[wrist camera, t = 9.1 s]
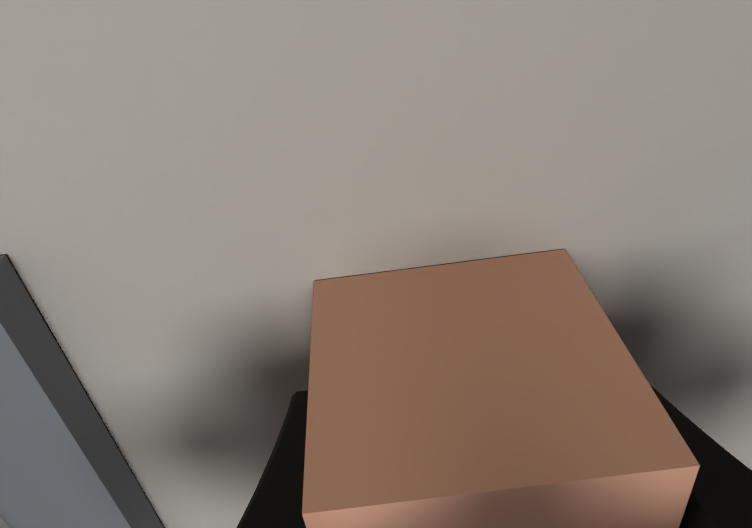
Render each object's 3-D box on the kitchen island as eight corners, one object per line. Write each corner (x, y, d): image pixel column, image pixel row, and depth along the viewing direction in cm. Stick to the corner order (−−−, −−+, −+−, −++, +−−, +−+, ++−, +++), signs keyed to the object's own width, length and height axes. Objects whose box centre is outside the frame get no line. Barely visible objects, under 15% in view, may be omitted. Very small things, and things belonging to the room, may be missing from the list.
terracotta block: (549, 418, 14) (639, 643, 10) (348, 442, 14) (354, 677, 10) (565, 248, 11) (699, 465, 7) (313, 281, 11) (301, 514, 7)
